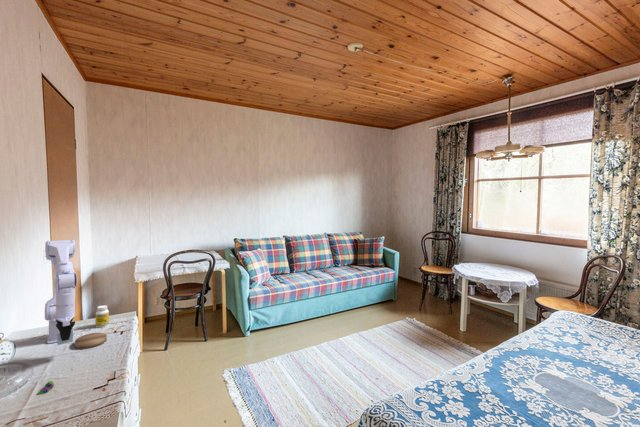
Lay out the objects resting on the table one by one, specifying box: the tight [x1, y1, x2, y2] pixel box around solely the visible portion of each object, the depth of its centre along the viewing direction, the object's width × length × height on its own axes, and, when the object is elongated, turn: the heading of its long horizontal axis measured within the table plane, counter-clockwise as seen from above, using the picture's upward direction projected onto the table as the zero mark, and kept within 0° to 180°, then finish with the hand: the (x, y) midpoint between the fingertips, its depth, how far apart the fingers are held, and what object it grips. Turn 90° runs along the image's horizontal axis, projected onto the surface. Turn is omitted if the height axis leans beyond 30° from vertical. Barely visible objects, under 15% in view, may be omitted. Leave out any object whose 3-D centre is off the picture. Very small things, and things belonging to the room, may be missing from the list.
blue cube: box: [56, 327, 74, 346], centre depth 116 cm, size 4×4×4 cm
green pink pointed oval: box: [36, 380, 55, 396], centre depth 96 cm, size 4×3×2 cm
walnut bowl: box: [74, 332, 107, 350], centre depth 128 cm, size 11×11×2 cm
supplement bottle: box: [95, 305, 110, 328], centre depth 145 cm, size 5×5×10 cm
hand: (65, 337), depth 116 cm, fingers closed on blue cube, 4 cm apart
